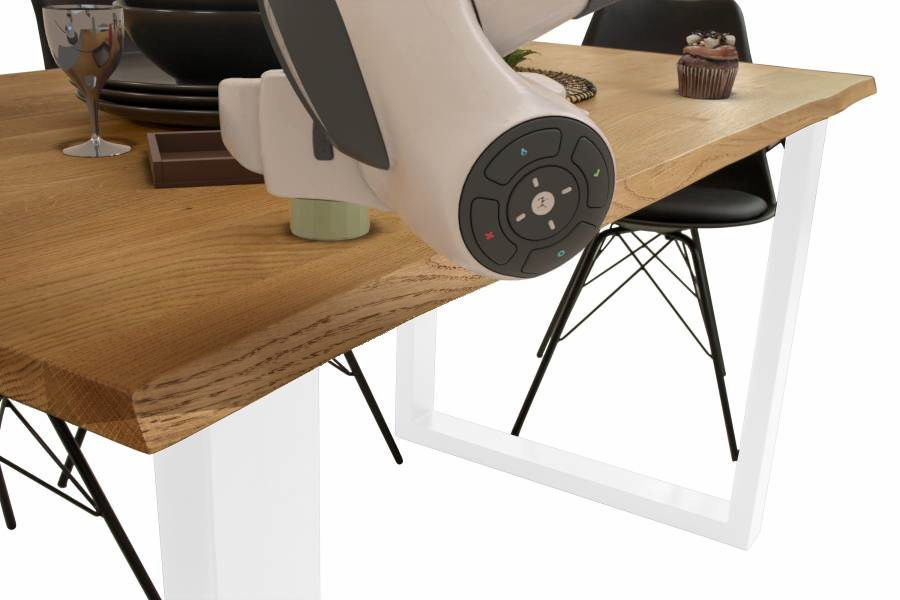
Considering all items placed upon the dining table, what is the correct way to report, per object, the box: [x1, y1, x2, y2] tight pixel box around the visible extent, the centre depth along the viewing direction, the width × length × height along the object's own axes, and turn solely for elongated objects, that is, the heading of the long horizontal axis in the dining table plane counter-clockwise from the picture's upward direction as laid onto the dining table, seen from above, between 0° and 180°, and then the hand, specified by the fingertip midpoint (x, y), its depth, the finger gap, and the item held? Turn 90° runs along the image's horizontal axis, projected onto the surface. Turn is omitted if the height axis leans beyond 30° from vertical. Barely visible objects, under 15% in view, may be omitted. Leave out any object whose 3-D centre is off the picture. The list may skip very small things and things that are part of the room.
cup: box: [288, 198, 371, 241], centre depth 79 cm, size 6×6×11 cm
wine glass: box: [42, 4, 132, 158], centre depth 107 cm, size 8×8×15 cm
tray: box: [146, 129, 265, 190], centre depth 103 cm, size 20×15×3 cm
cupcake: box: [675, 29, 740, 100], centre depth 158 cm, size 10×10×10 cm
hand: (366, 92), depth 66 cm, fingers open, 8 cm apart
